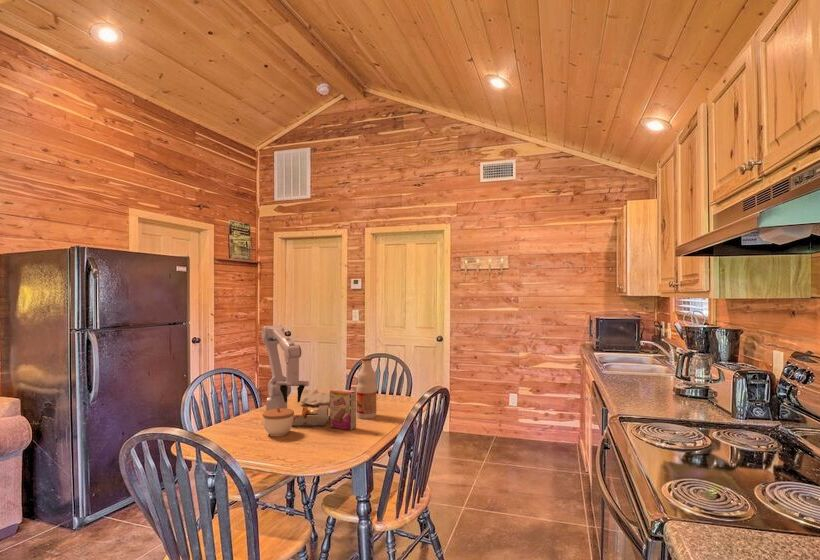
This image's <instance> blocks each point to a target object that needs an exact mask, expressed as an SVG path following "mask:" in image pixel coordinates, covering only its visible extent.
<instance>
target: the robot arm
mask: <svg viewBox="0 0 820 560" xmlns="http://www.w3.org/2000/svg"><path fill="white" fill-rule="evenodd" d="M260 334H261V335H260V336H261V339H262V343H263V345H265V347H266V350H267V356H268V360H269V367H270V372H271V379H269V381H268V383H267V394H268V397H267V398H266V404H265V405H266V407H265V409H266V410H265V411H267V410H271V409H277V407H280V408H286V409H288V398H289V395H291V393H292V387H297V388H296V389H297V396H298V399H297V403H301V402H300V399H301V395H302V392H303V390H304V389H305V387H309V386H310V381H308V380H306V381H305V380H300V358H301V357H302V348H301V346H300V345H299V344H295V342H294V341H292V338H290V337H289V336H288V337H287V336H286V334H285V329H284V326H283V325H282V324H279V325H264V326H262V328H261V333H260ZM278 345H279V346H280V347H279V348H281V349H282V351H283V356H284V362H285V364H286V365H285V375H283V370H282V365H281V360H280V355H279V349H278Z"/></svg>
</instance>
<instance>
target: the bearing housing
mask: <svg viewBox="0 0 820 560" xmlns="http://www.w3.org/2000/svg"><path fill="white" fill-rule="evenodd" d="M317 410H318V415H311V416H307V418H302V415H301V416H300V415H299V416H297V417H296V418H295V420H294V419H293V425H292V427H291V428H326V426H327V424H328V422H330V407H329V406H318V408H317Z"/></svg>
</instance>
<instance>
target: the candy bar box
mask: <svg viewBox="0 0 820 560" xmlns="http://www.w3.org/2000/svg"><path fill="white" fill-rule="evenodd" d="M329 393H330V407H329V416H330V419H329V428H333V429H340V430H345V431H353V430H355V429H356V428H357V390H350V389H343V388H334V389H331V390H329Z"/></svg>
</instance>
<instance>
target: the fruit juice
mask: <svg viewBox="0 0 820 560" xmlns="http://www.w3.org/2000/svg"><path fill="white" fill-rule="evenodd" d="M372 362H373V359H372V357H369V356H363V357H361V367H360V370H359V371H358V373H357V376H356V379H357V382H358V383H357V385H356V418H358V419H362V420H363V419H364V420H368V419H369V420H370V419H375V418H376V417H377V384H376V379H377V373H376V372H375V370H374V369H373V366H372V365H373V364H372Z"/></svg>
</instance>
